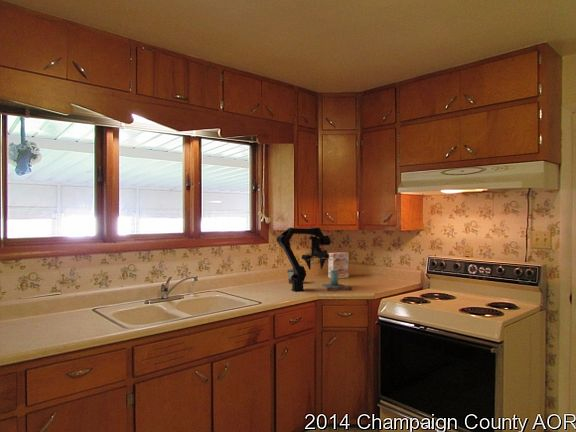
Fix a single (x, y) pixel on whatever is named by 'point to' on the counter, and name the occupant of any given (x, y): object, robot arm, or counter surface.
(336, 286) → the mat
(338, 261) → the coffeecake box
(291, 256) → the robot arm
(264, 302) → the counter surface
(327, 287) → the bar
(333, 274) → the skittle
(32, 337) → the counter surface
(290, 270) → the food container
